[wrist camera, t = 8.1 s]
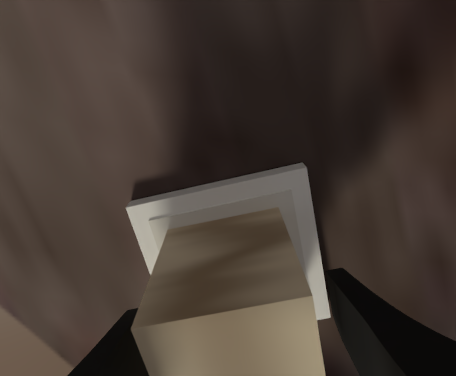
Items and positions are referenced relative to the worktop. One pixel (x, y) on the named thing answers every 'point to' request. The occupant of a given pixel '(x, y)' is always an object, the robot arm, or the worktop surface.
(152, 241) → the tray
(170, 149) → the worktop surface
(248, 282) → the maple block
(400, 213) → the worktop surface
